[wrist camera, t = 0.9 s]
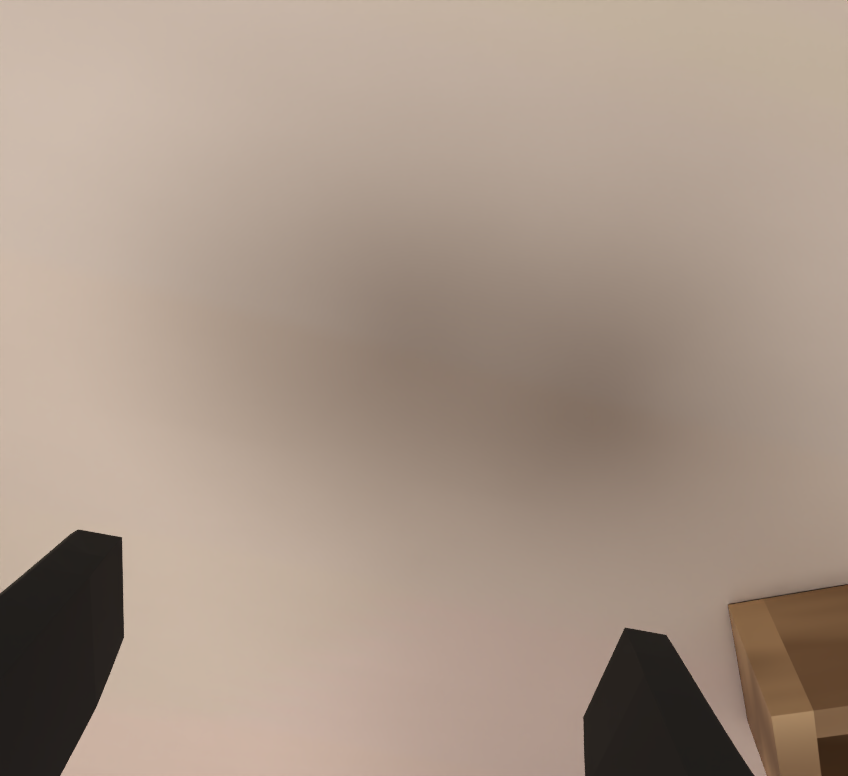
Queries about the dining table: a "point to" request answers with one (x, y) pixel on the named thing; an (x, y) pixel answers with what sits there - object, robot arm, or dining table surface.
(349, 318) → the dining table surface
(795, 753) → the wooden square ring
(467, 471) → the dining table surface
